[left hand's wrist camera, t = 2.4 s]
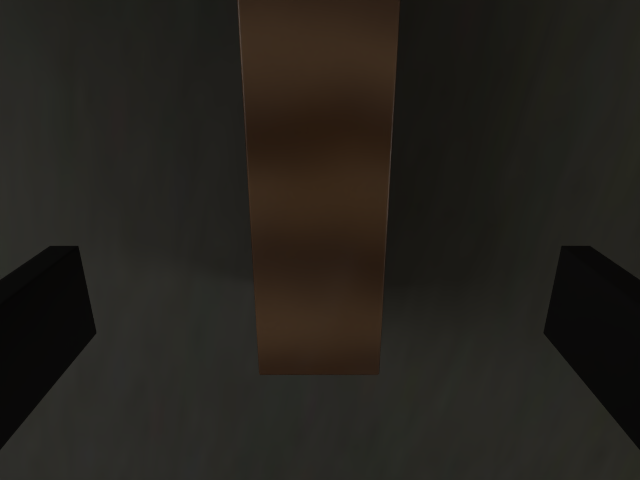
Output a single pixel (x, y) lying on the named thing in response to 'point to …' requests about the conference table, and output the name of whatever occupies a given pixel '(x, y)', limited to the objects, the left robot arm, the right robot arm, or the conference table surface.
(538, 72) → the conference table surface
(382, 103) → the beam
